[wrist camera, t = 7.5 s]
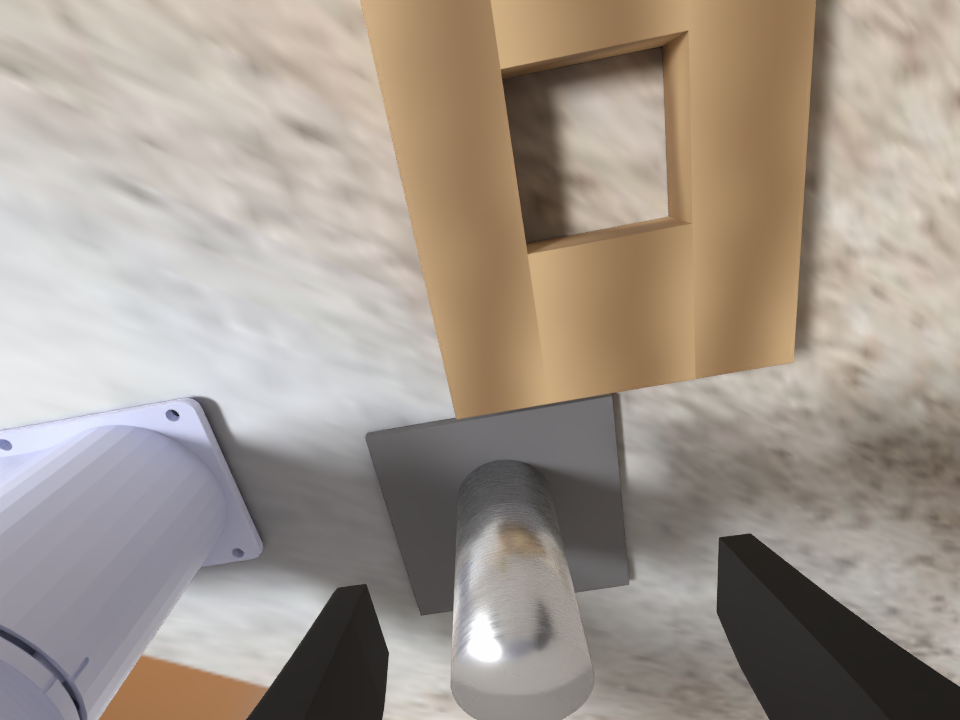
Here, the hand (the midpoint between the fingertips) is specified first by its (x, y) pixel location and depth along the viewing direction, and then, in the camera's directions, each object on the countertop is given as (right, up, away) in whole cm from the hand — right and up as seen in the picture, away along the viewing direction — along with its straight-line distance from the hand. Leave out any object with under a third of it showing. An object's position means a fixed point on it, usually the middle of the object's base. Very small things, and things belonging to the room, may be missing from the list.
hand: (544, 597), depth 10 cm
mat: (0, -2, +12) cm, 12 cm away
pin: (0, -1, +11) cm, 11 cm away
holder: (+2, +12, +6) cm, 14 cm away
